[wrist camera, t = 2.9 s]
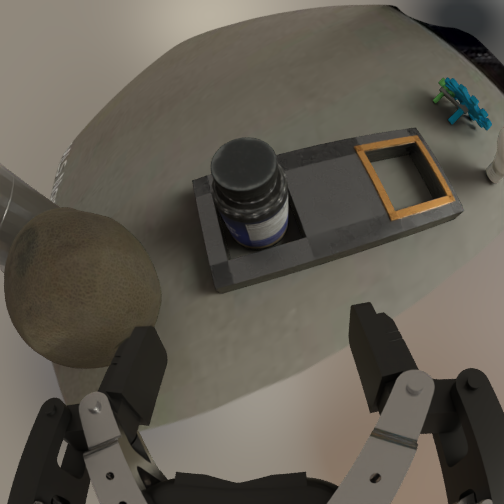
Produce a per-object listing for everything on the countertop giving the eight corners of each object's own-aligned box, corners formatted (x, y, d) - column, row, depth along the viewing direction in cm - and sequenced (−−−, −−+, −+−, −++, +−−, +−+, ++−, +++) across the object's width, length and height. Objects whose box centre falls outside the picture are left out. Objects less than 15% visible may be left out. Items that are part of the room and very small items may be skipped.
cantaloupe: (164, 223, 30) (88, 144, 16) (198, 348, 26) (106, 351, 12) (73, 265, 31) (-15, 221, 16) (92, 375, 26) (-11, 377, 12)
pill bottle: (222, 210, 30) (190, 148, 20) (274, 189, 30) (266, 119, 20) (242, 261, 28) (215, 214, 18) (298, 238, 28) (303, 179, 18)
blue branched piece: (496, 135, 27) (490, 105, 21) (475, 156, 31) (466, 130, 25) (453, 93, 32) (436, 60, 26) (433, 112, 36) (414, 83, 30)
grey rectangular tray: (221, 293, 27) (214, 288, 25) (198, 191, 31) (191, 179, 29) (454, 219, 26) (465, 209, 24) (410, 139, 30) (416, 126, 28)
